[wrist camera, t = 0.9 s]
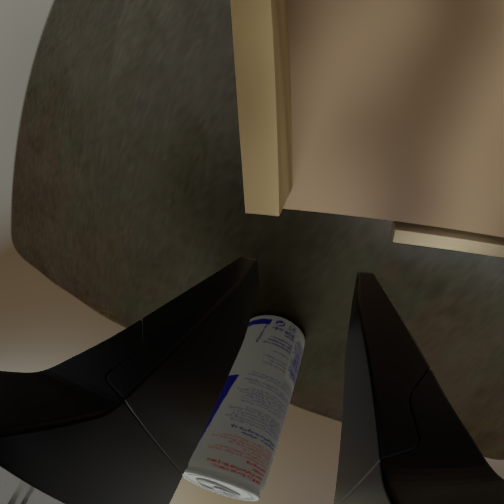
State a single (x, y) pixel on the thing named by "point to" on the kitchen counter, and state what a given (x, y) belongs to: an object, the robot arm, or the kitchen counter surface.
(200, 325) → the robot arm
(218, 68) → the kitchen counter surface
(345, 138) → the lid
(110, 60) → the kitchen counter surface
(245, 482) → the beverage can
